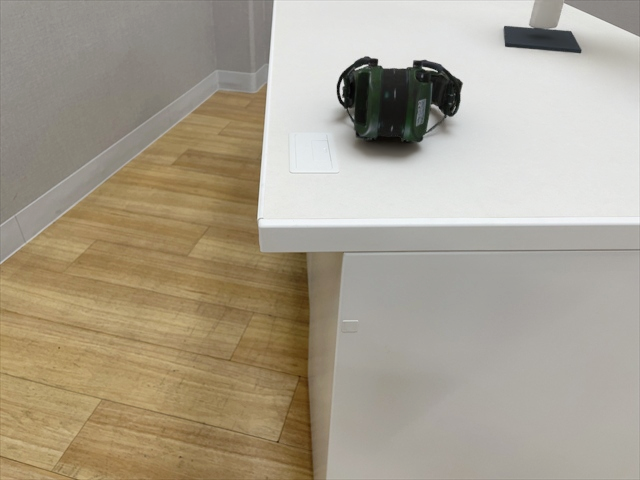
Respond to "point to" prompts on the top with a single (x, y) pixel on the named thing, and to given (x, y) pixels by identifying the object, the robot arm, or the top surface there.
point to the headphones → (397, 98)
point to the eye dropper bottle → (546, 13)
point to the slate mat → (540, 39)
